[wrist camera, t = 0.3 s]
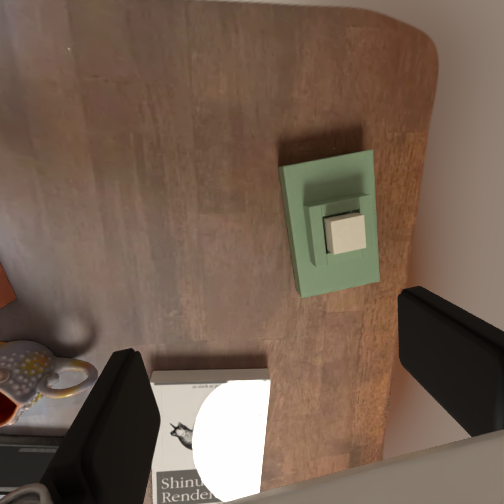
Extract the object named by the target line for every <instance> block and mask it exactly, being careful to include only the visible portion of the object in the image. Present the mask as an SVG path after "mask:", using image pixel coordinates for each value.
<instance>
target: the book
mask: <svg viewBox="0 0 504 504" xmlns="http://www.w3.org/2000/svg"><path fill="white" fill-rule="evenodd" d="M270 383H271V379H270V375H269V371H268V368H265V369H219V370H173V371H153V373H152V376H151V379H150V384H151V387H152V390H153V393H154V396H155V399H156V403H157V406H158V409H159V412H160V417H161V423H160V429H159V433H158V438H157V442H156V447H155V452H154V456H153V461H152V489H153V504H219V503H223V502H226V501H230V500H234V499H237V498H241V497H245V496H249V495H252V494H256V493H259V489H260V479H261V470H262V460H263V450H264V441H265V431H266V421H267V412H268V402H269V392H270Z"/></svg>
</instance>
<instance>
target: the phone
mask: <svg viewBox="0 0 504 504" xmlns="http://www.w3.org/2000/svg"><path fill="white" fill-rule="evenodd" d="M63 439H64V438H58V437H31V436H4V435H0V495H7V494H9V493H11V492H12V491H14V490H15V489H18V488H20V487H22V486H25V485H27V484H33V483H39V482H40V480H41V478H42V476H43V475H44V473H45V471H46V469H47V467H48V465H49V463H50V462H51V460H52V458H53V457H54V455H55V453H56V451H57V450H58V448H59V446H60V444H61V443H62V441H63Z"/></svg>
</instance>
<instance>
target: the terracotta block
mask: <svg viewBox="0 0 504 504" xmlns="http://www.w3.org/2000/svg"><path fill="white" fill-rule="evenodd" d="M15 299H16V296H15V294H14V292H13V289H12V287H11V285H10V283H9V281H8V279H7V277H6V274H5V272H4V270H3V268H2V266H1V264H0V309H1V308H2V307H4V306H6V305H7V304H9V303H10V302H12V301H13V300H15Z"/></svg>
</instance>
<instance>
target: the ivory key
mask: <svg viewBox="0 0 504 504" xmlns="http://www.w3.org/2000/svg"><path fill="white" fill-rule="evenodd" d="M324 225H325V234H326V244H327V250H328V251H330V252H331V253H333V254H339V253H344V252H348V251H353V250H358V249H362V248H366V236H365V221H364V215H363V214H360V213H356V212H353V213H348V214H344V215H339V216H334V217H329V218H324Z"/></svg>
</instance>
